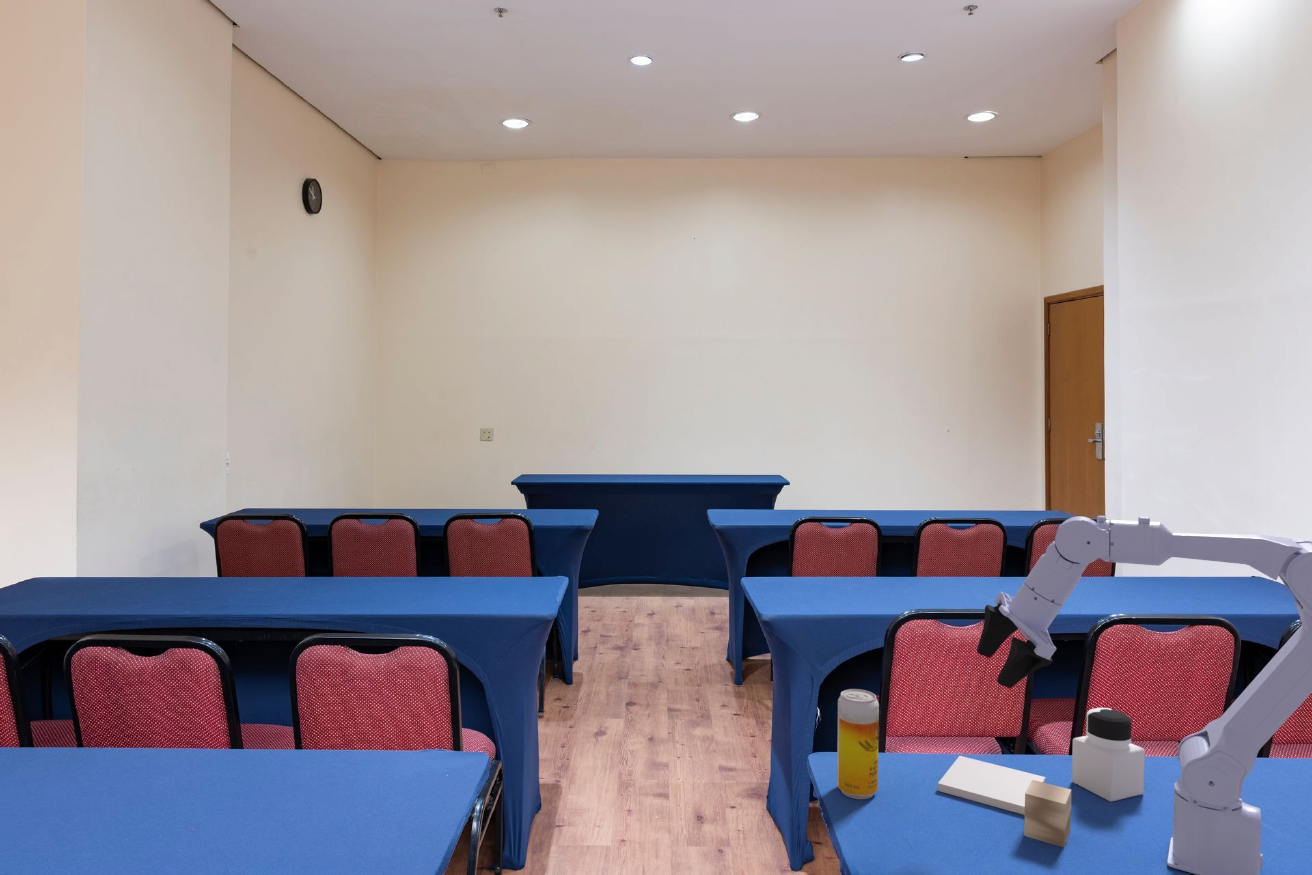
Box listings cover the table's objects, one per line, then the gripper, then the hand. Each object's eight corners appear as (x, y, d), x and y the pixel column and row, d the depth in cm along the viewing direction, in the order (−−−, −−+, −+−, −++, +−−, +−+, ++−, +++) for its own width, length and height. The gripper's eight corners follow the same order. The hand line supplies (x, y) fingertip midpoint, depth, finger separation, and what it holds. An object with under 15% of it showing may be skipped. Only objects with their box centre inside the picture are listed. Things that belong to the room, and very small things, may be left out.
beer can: (879, 802, 119) (880, 703, 119) (837, 798, 121) (838, 700, 120) (876, 783, 125) (877, 689, 125) (836, 780, 126) (837, 686, 126)
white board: (1045, 784, 125) (1045, 776, 125) (1029, 816, 115) (1029, 807, 115) (959, 762, 133) (959, 755, 133) (937, 790, 123) (937, 782, 123)
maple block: (1070, 831, 111) (1071, 789, 111) (1064, 847, 107) (1065, 803, 107) (1031, 820, 114) (1032, 779, 114) (1024, 835, 110) (1025, 793, 110)
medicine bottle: (1144, 794, 122) (1146, 717, 122) (1111, 802, 120) (1113, 723, 119) (1103, 774, 129) (1105, 701, 128) (1070, 781, 126) (1072, 707, 126)
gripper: (998, 559, 119) (951, 632, 122) (1042, 608, 105) (988, 689, 109) (1039, 576, 120) (991, 649, 123) (1088, 627, 106) (1033, 707, 109)
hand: (992, 669), depth 116 cm, fingers open, 7 cm apart
